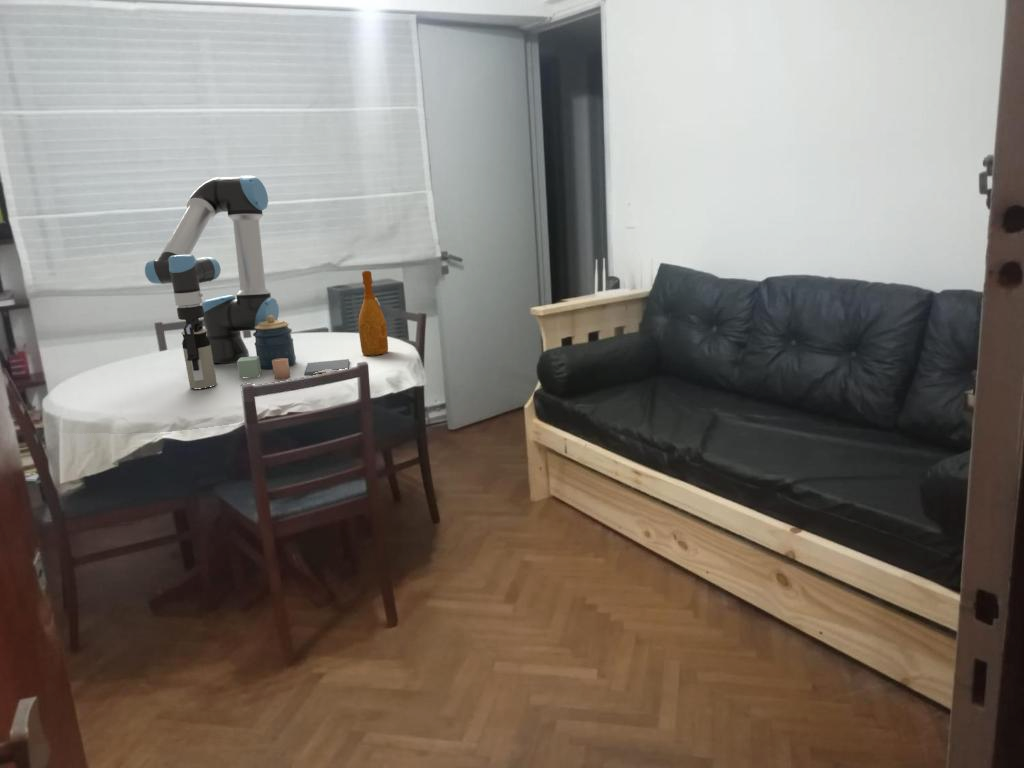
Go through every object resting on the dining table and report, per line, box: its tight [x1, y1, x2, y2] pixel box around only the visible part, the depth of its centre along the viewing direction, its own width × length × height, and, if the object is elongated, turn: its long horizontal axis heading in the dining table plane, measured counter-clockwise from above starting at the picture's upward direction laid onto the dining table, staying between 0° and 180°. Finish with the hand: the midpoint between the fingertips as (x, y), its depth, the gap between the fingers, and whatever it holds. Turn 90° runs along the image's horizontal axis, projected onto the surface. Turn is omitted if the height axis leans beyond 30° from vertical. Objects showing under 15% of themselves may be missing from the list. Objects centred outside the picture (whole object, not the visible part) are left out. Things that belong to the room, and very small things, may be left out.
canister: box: [252, 315, 297, 370], centre depth 252 cm, size 13×13×18 cm
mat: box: [303, 358, 350, 376], centre depth 244 cm, size 14×14×1 cm
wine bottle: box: [357, 270, 389, 356], centre depth 259 cm, size 10×10×30 cm
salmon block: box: [272, 358, 291, 381], centre depth 235 cm, size 5×5×6 cm
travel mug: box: [180, 328, 218, 389], centre depth 227 cm, size 8×8×18 cm
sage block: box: [236, 355, 262, 379], centre depth 240 cm, size 6×6×6 cm
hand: (202, 376), depth 229 cm, fingers closed on travel mug, 8 cm apart
